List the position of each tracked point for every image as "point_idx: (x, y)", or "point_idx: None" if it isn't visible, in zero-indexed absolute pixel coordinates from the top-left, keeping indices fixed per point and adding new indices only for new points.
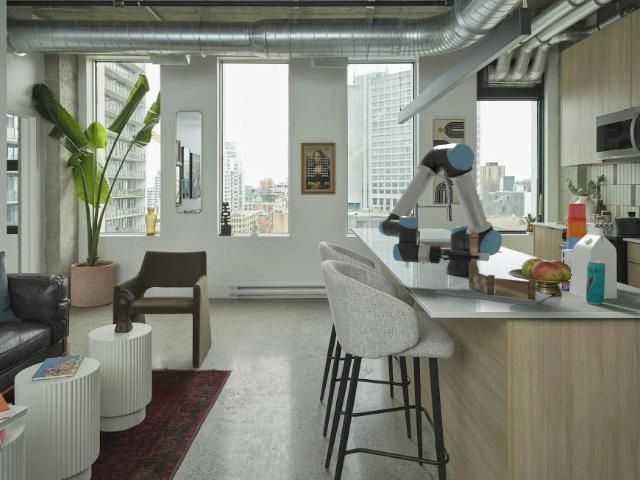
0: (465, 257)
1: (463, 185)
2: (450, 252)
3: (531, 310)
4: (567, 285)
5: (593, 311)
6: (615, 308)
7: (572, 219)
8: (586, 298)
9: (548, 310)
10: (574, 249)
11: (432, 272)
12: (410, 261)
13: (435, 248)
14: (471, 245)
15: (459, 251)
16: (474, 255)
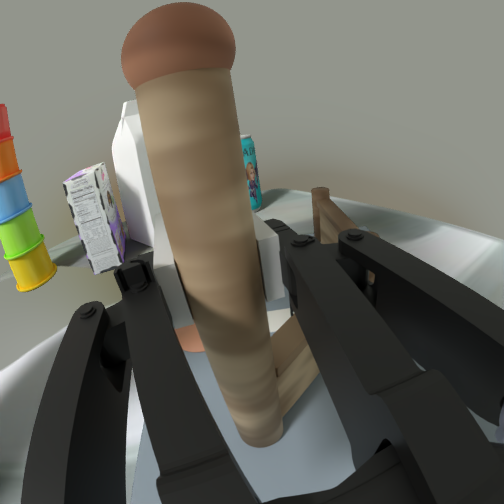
0: (366, 272)
1: None
2: (464, 421)
3: (400, 218)
4: (120, 250)
5: None
6: (267, 196)
7: (2, 137)
8: (256, 204)
9: (372, 211)
10: (139, 147)
11: None
12: None
13: None
14: (240, 150)
15: (39, 439)
16: (284, 232)
